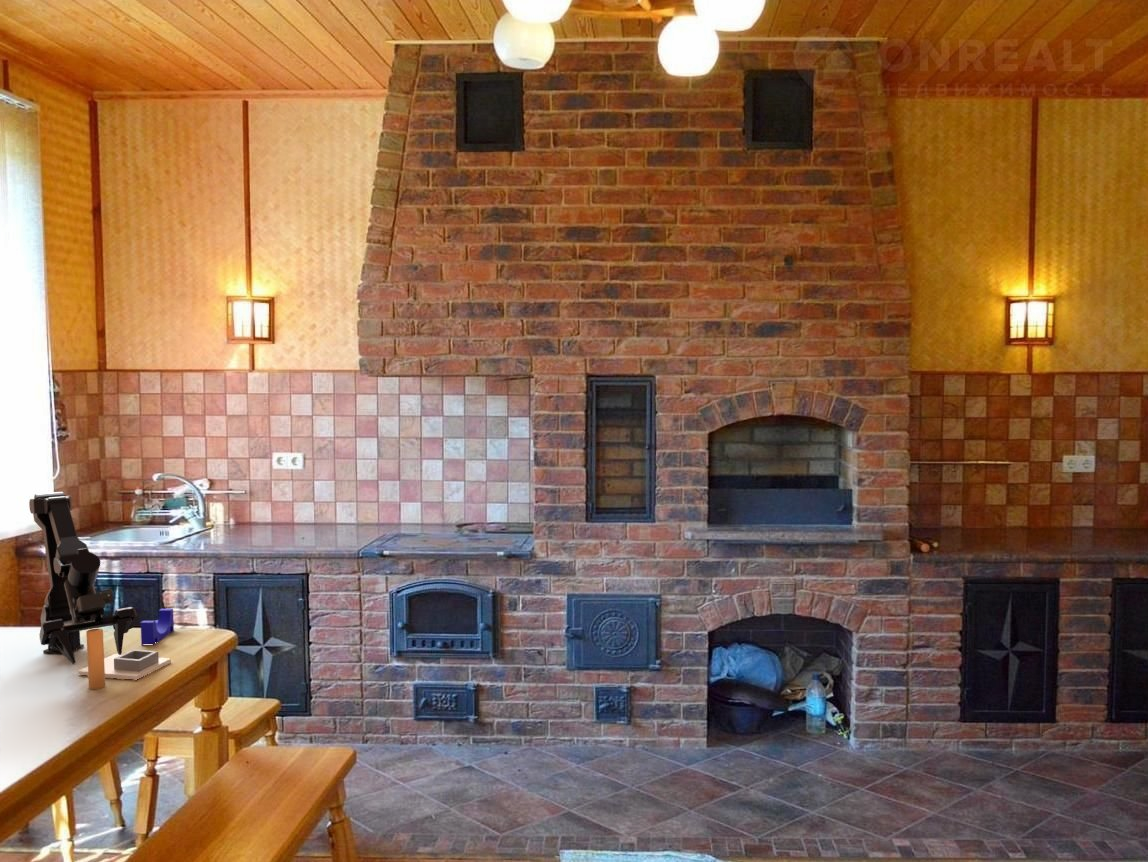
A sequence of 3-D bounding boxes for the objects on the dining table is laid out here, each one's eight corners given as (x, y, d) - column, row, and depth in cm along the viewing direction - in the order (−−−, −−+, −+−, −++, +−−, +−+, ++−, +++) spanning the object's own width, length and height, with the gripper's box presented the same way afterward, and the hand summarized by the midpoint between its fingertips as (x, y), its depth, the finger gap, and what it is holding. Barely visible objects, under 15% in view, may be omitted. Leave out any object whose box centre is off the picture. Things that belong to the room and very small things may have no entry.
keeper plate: (78, 675, 210) (77, 660, 209) (115, 657, 221) (114, 643, 221) (136, 680, 206) (135, 665, 206) (170, 662, 218) (170, 648, 218)
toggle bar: (85, 688, 202) (82, 632, 200) (96, 683, 205) (93, 628, 204) (98, 689, 201) (95, 633, 200) (108, 684, 204) (106, 629, 203)
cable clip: (156, 631, 242) (155, 608, 242) (173, 631, 242) (173, 608, 242) (135, 646, 230) (134, 622, 230) (153, 646, 231) (152, 622, 230)
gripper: (39, 585, 198) (54, 648, 190) (133, 571, 210) (149, 630, 202) (33, 613, 204) (47, 675, 197) (124, 598, 216) (140, 656, 209)
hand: (97, 658), depth 201 cm, fingers open, 9 cm apart
